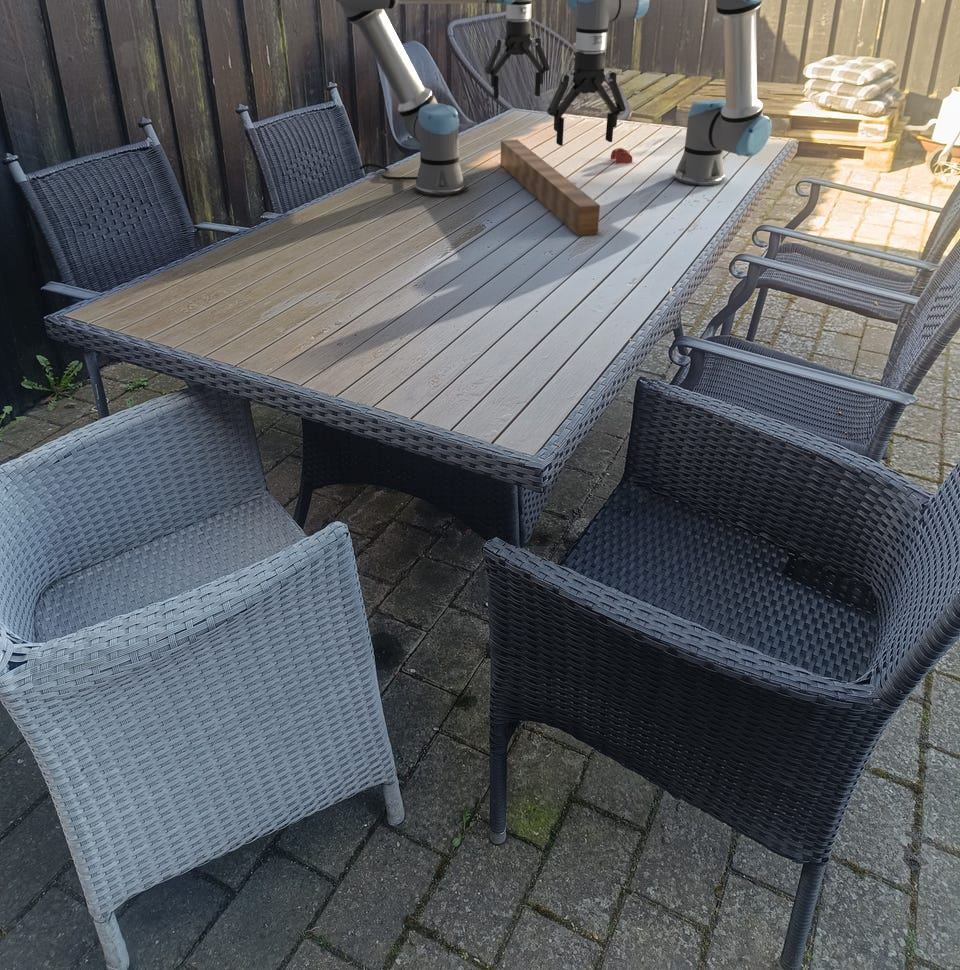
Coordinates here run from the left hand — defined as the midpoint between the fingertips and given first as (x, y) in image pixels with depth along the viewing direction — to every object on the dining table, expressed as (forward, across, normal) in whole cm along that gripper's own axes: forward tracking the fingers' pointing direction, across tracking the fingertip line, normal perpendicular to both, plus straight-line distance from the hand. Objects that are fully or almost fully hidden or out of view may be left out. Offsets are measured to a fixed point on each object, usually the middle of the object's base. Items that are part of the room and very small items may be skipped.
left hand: (516, 97), depth 264 cm
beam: (+22, 0, -30) cm, 37 cm away
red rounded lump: (+22, +37, 0) cm, 43 cm away
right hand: (0, 0, -59) cm, 59 cm away
